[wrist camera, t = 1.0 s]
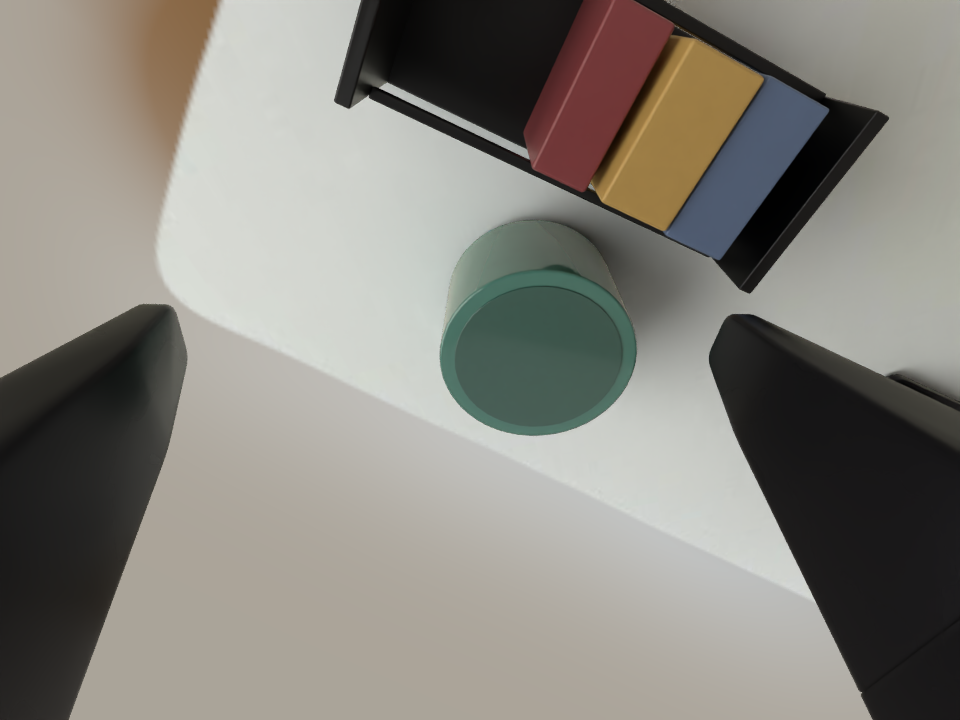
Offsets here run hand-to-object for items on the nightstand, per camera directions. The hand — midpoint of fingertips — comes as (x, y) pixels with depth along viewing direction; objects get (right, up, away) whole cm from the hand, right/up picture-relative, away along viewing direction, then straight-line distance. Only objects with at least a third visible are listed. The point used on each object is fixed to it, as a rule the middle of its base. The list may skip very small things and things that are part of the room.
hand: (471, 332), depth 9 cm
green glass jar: (+2, +2, +13) cm, 13 cm away
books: (+5, +8, +9) cm, 13 cm away
